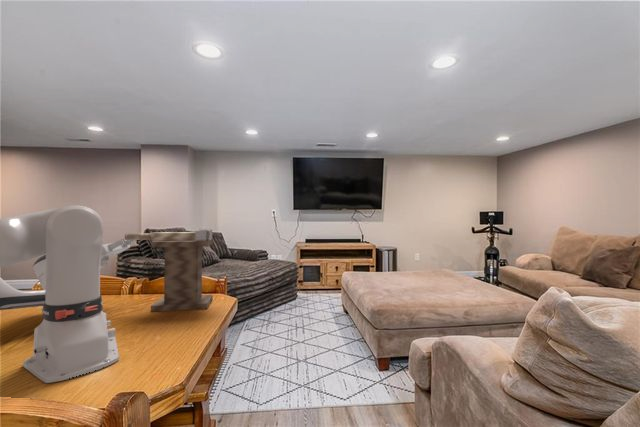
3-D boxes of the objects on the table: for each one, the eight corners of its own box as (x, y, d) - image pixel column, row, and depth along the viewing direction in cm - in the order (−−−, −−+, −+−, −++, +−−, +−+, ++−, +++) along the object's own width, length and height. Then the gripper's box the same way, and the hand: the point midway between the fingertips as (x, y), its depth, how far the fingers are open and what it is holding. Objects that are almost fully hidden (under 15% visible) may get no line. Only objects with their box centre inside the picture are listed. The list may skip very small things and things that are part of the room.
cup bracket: (195, 240, 114) (195, 230, 114) (199, 239, 122) (199, 229, 122) (208, 240, 115) (208, 230, 115) (212, 239, 123) (212, 229, 123)
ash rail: (123, 241, 111) (123, 233, 111) (128, 240, 115) (128, 232, 115) (195, 240, 116) (195, 232, 116) (197, 239, 120) (197, 232, 120)
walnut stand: (150, 311, 109) (151, 241, 109) (161, 301, 121) (162, 238, 121) (207, 308, 113) (207, 241, 113) (212, 299, 125) (213, 238, 125)
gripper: (112, 260, 122) (144, 243, 124) (83, 270, 102) (121, 249, 104) (104, 247, 121) (136, 230, 124) (73, 254, 101) (111, 234, 104)
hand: (129, 239), depth 114 cm, fingers open, 8 cm apart
